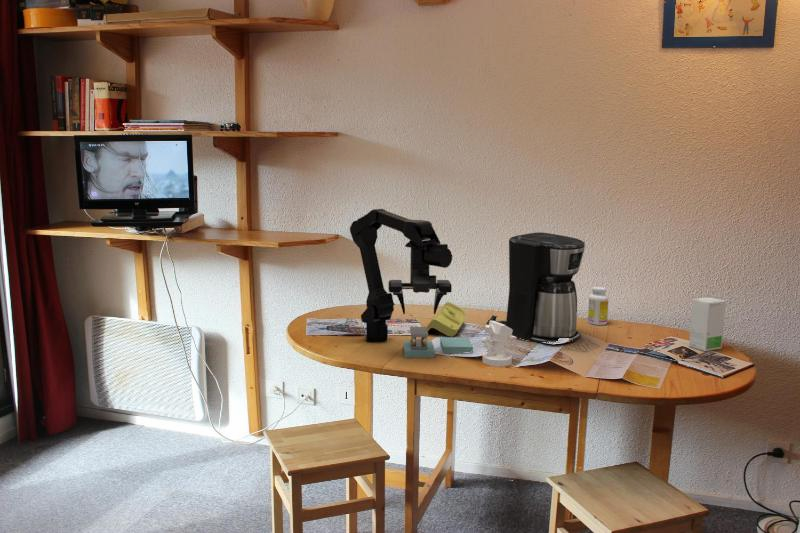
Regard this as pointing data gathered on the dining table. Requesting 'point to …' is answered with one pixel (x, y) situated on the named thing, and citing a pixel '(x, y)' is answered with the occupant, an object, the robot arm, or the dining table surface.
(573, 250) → the coffee maker
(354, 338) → the dining table surface
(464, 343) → the stand right
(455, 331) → the plastic component
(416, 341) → the housing
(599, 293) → the supplement bottle
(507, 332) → the character figurine
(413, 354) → the stand left
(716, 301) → the skincare box
